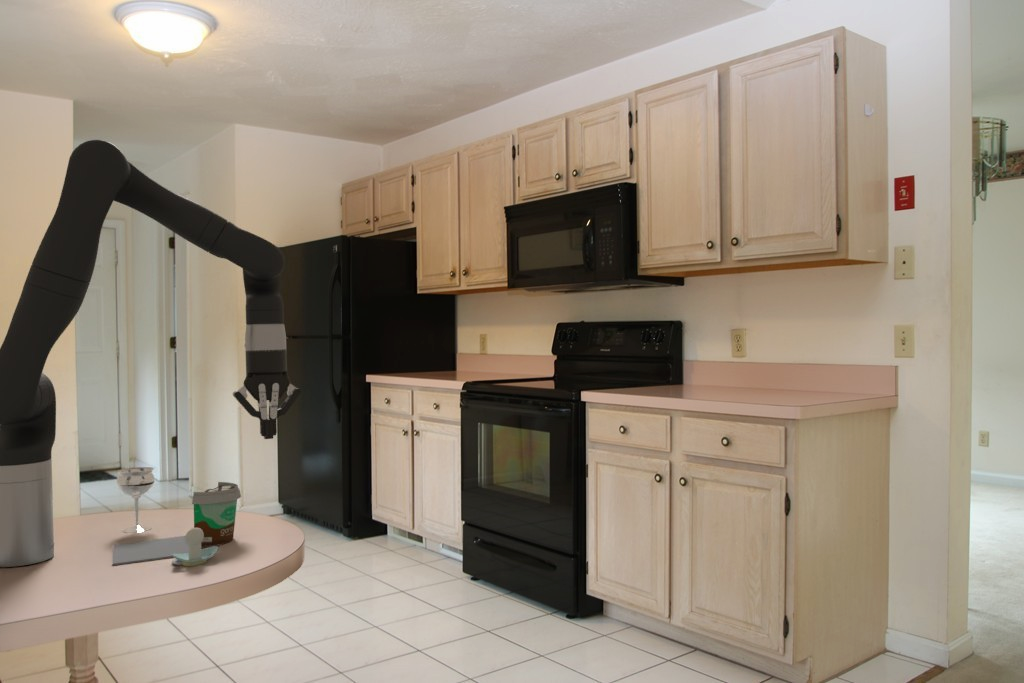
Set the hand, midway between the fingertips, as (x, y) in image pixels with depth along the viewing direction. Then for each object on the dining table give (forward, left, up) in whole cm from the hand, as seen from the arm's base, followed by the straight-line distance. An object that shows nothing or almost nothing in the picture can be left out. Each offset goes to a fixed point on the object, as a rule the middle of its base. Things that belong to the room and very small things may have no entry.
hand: (268, 438), depth 149 cm
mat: (-20, 0, -19) cm, 27 cm away
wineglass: (-23, +19, -19) cm, 35 cm away
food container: (-9, 0, -19) cm, 21 cm away
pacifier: (-15, -12, -19) cm, 27 cm away
